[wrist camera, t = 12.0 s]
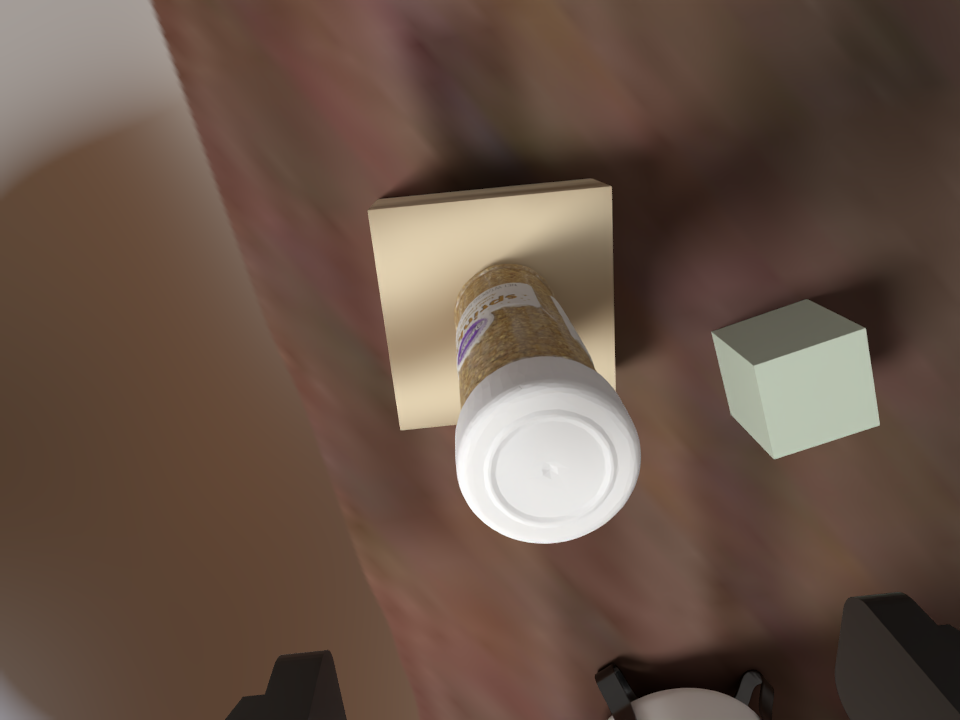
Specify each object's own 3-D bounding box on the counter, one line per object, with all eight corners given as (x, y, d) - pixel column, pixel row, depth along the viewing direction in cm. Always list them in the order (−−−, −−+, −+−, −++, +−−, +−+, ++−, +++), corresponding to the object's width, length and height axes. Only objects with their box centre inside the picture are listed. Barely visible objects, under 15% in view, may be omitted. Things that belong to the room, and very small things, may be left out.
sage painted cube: (710, 331, 33) (753, 365, 28) (806, 298, 33) (865, 328, 28) (730, 414, 35) (774, 459, 30) (821, 383, 34) (880, 425, 30)
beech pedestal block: (377, 199, 30) (367, 210, 26) (591, 178, 30) (611, 186, 26) (406, 395, 33) (400, 430, 30) (597, 376, 34) (615, 408, 30)
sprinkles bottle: (469, 248, 27) (487, 360, 14) (572, 278, 28) (675, 410, 15) (440, 348, 28) (433, 529, 16) (538, 374, 29) (606, 568, 16)
